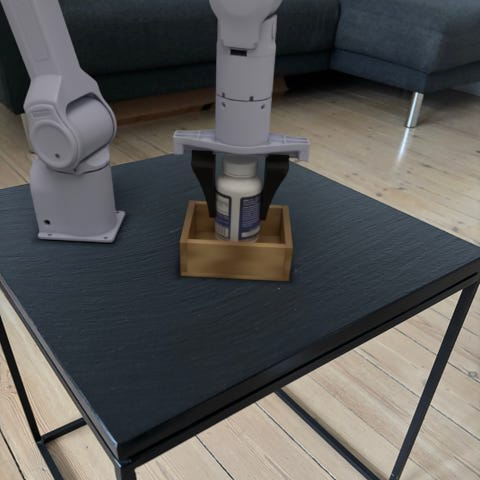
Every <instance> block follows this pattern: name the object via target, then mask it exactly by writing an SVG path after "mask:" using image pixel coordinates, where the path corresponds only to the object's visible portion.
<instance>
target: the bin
mask: <svg viewBox="0 0 480 480" xmlns="http://www.w3.org/2000/svg"><path fill="white" fill-rule="evenodd" d="M289 207H290V206H289V205H283V204H281V205H280V204H270V207H269V210H268V213H267V217H266V221H261V220H260V233H259V238H258V240H257V241H256V242H255V243H254V242H235V241H218V240H217V238H216V236H215V218H209V211H208V206H207V202H206V200H194V199H193V200H192V199H189V200H188V204H187V209H186V213H185V218H184V222H183V227H182V231H181V233H180V234H181V235H180V238H179V262H180V264H179V265H180V276H181V277H196V278H215V279H216V278H217V279H236V280H237V279H238V280H255V281H273V282H290V275H291V266H292V260H293V250H294V245H293V236H292V228H291V227H292V226H291V217H290V209H289Z"/></svg>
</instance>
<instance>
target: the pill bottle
mask: <svg viewBox="0 0 480 480" xmlns="http://www.w3.org/2000/svg"><path fill="white" fill-rule="evenodd" d="M221 159H222V160H221V171H222V173H221V174H219V175H218V176H217V177H216V179H215V187H216V188H215V236H216V238H217V240H218V241H235V242H254V243H255V242H256V241H257V240H258V238H259V233H260V212H261V204H262V192H263V184H264V182H263V180H262V178H261V177H260V176H259V175H258V172H259V158H258V156H240V155H223V156H222V157H221Z"/></svg>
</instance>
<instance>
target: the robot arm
mask: <svg viewBox="0 0 480 480" xmlns="http://www.w3.org/2000/svg"><path fill="white" fill-rule="evenodd" d="M208 2H209V6H210V8H211V10H212V12H213V14H214V15H215V17H216V18H217V41H216V59H215V61H216V63H215V64H216V66H215V67H216V68H215V69H216V70H215V118H214V119H215V120H214V121H215V122H214V123H215V125H214V128H211V129H193V130H174V133H173V135H172V147H173V151H172V152H173V155H179V156H180V155H181V156H182V155H184V154H191V160H190V167H191V171H192V172H193V174H194V175H195V178H196V179H197V181H198V184H199V185H200V188H201V190H202V193H203V196H204V198H205V201H206V202H207V206H208V211H209V218H215V188H216V170H217V169H216V168H217V167H216V166H217V155H221V156H222V155H223V156H224V155H240V156H256V157H257V158H258V157H261V158H264V173H263V192H262V204H261V212H260V220H261V221H266V217H267V213H268V210H269V207H270V205H272V201H273V199H274V197H275V195H276V193H277V191H278V189H279V187H280V186H281V184H282V183H283V181H284V180H285V179H286V177H287V176H288V173H289V171H290V159H295V160H296V159H297V160H298V161H299V162H309V157H310V150H311V142H310V138H309V137H304V136H302V137H301V136H296V135H295V136H293V135H289V134H282V133H278V132H271V131H270V125H271V111H272V99H273V89H274V88H273V87H274V76H275V75H274V74H275V64H276V63H275V62H276V52H277V51H276V50H277V45H276V34H277V23H278V22H277V20H278V15H277V14H274V13H275V12H276V11H277V10H278V8H279V7H280V5H281V4H282V2H283V0H208ZM0 3H1V6H2V8H3V11H4V14H5V16H6V19H7V21H8V24H9V27H10V29H11V32H12V34H13V37H14V39H15V43H16V44H17V47H18V50H19V53H20V55H21V57H22V61H23V63H24V65H25V68H26V71H27V74H28V76H29V79H30V84H29V88H28V89H27V93H26V96H25V100H24V102H23V110H24V113H25V115H26V118H27V122H28V139H29V142H30V143H29V144H30V146H31V148H32V150H33V152H34V154H35V155H36V157H37V158H36V159H34V161H33V162H32V164H31V165H30V166H31V167H30V171H29V188H30V194H31V195H30V196H31V200H32V204H33V209H34V213H35V218H36V222H37V226H38V231H39V232H38V234H37V238H38V239H39V240H53V241H54V240H55V241H71V242H73V241H74V242H88V243H89V242H91V243H113V242H114V241H115V239H116V237H117V235H118V232H119V230H120V227H121V226H122V223H123V220H124V218H125V217H126V212H125V211H124V210H116V202H115V192H114V184H113V174H112V165H111V158H110V157H111V156H110V153H111V150H110V143H112V142H113V140H114V139H115V137H116V135H117V130H118V125H117V124H118V123H117V119H116V116H115V113H114V112H113V110H112V107H110V105H109V103H108V102H107V101H106V100H105V98H104V97H103V95H102V93H101V90H100V88H99V85H98V82H97V81H96V80H95V79H94V78H92V77H91V76H90V75H89V73H87V72H85V71H84V70H83V69H82V68H81V66H80V63H79V60H78V57H77V54H76V52H75V47H74V45H73V42H72V39H71V36H70V33H69V30H68V27H67V24H66V20H65V18H64V16H63V12H62V8H61V6H60V3H59V0H0Z"/></svg>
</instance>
